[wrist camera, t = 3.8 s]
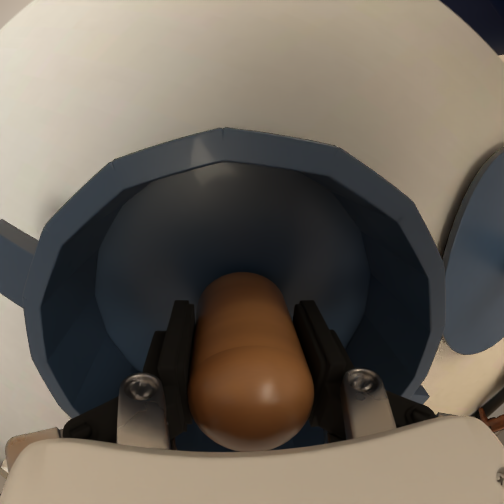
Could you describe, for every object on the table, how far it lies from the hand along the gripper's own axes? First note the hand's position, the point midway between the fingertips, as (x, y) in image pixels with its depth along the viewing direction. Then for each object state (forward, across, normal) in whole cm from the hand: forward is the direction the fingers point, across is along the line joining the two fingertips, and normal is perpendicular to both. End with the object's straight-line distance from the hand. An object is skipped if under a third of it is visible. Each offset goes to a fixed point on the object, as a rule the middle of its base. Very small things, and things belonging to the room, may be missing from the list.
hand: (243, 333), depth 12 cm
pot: (+3, 0, 0) cm, 3 cm away
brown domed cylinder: (+2, 0, 0) cm, 2 cm away
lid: (+3, -20, -2) cm, 20 cm away
